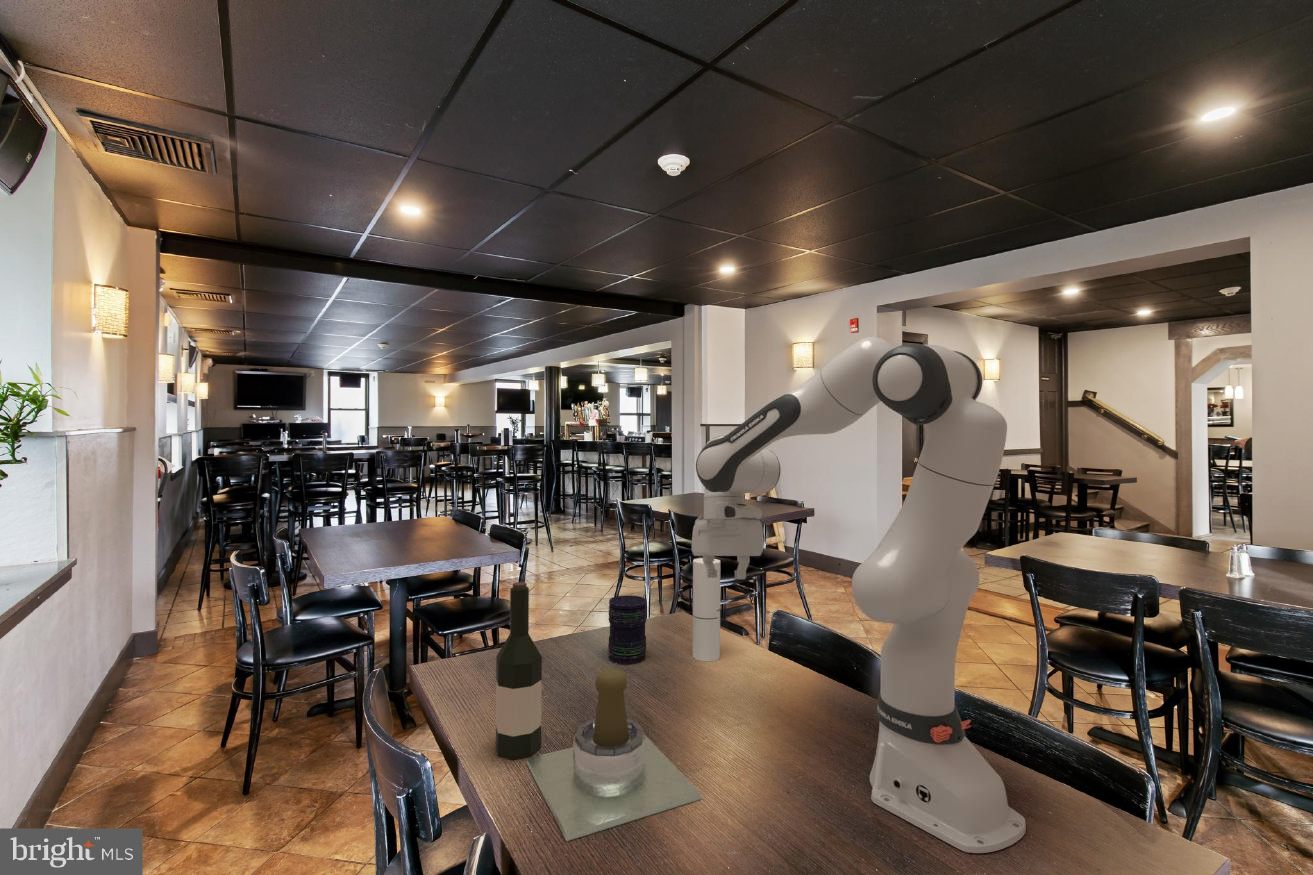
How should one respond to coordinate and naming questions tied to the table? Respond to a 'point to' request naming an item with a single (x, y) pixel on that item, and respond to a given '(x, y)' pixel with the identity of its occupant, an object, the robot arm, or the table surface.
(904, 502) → the robot arm
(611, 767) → the duct stub
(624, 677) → the cork
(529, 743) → the wine bottle
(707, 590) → the cylindrical container
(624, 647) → the storage jar
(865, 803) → the table surface
